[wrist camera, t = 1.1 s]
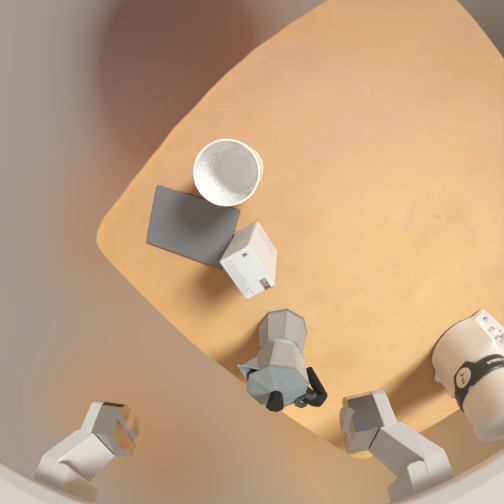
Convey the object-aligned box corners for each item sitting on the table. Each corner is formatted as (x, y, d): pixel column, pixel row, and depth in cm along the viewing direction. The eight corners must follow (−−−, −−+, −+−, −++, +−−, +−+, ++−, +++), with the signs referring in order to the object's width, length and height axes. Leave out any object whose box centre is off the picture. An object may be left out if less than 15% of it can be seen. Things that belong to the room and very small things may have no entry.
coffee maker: (239, 329, 51) (215, 403, 34) (264, 294, 48) (248, 366, 31) (307, 365, 52) (307, 441, 35) (336, 333, 48) (348, 410, 32)
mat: (240, 210, 44) (240, 211, 43) (223, 268, 47) (222, 269, 47) (158, 185, 44) (157, 185, 44) (147, 241, 48) (146, 242, 47)
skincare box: (234, 233, 45) (214, 261, 34) (259, 218, 44) (246, 242, 32) (256, 265, 46) (243, 302, 35) (280, 252, 45) (275, 286, 34)
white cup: (242, 205, 43) (228, 220, 34) (204, 170, 42) (180, 176, 33) (279, 167, 41) (274, 170, 31) (239, 131, 40) (222, 125, 30)
